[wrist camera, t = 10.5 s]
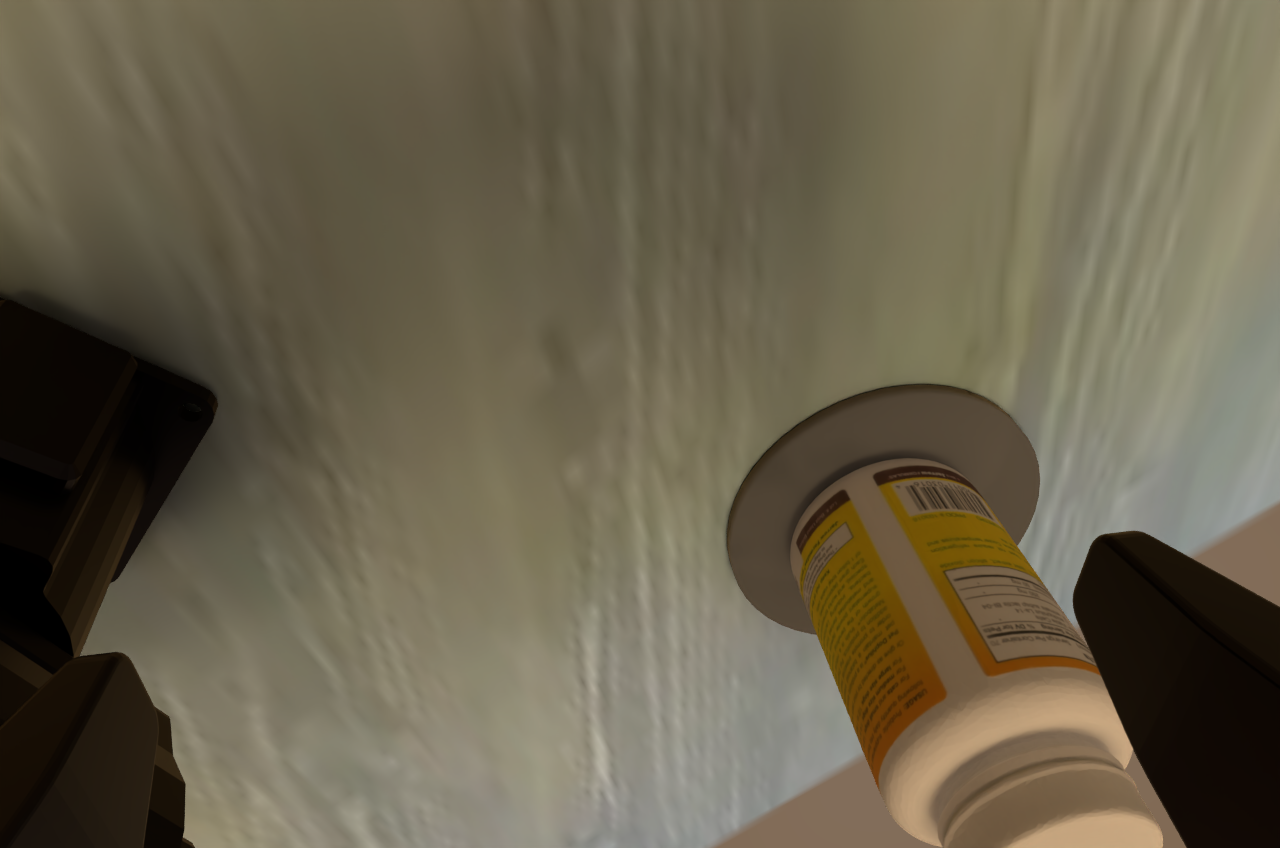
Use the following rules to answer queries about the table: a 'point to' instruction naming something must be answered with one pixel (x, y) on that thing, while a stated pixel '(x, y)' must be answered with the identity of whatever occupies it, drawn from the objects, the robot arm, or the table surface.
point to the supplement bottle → (962, 669)
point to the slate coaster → (859, 437)
